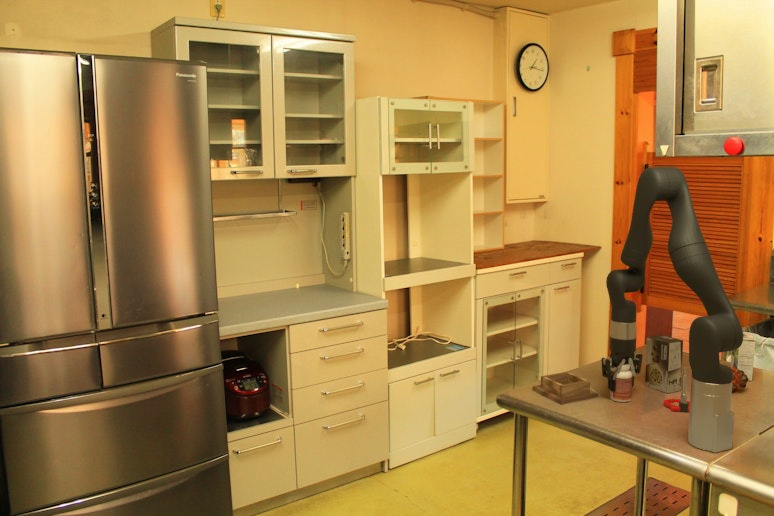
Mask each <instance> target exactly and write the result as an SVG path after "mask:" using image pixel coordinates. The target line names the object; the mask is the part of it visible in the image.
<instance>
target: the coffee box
mask: <svg viewBox="0 0 774 516" xmlns="http://www.w3.org/2000/svg"><path fill="white" fill-rule="evenodd" d="M683 350H684V340H683V339H680V338H675V337H671V336H667V335H664V334H655V335H652V336H646V347H645V351H646V352H645V377H644V378H645V379H644V380H645V381H644V385H645V386H646V387H649V388H652V389H654V390H658V391H660V392H663V393H666V394H671V393H675V392H681V391H682V376H683V374H682V373H683V354H684V352H683Z"/></svg>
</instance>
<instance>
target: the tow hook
mask: <svg viewBox="0 0 774 516" xmlns="http://www.w3.org/2000/svg"><path fill="white" fill-rule="evenodd" d="M682 373H683V374H682V377H681V393H680V398H667V399H664V400H663V406H664V407H666V408H669V409H670V412H679V411H680V413H689V412H690V400H688V394H687V387H688V386H687V385H688V384H687V383H688V375H687V367H686V366H684V367H683V371H682ZM674 402H677V404H678V405H675V404H673V403H674Z"/></svg>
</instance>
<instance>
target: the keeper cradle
mask: <svg viewBox="0 0 774 516" xmlns="http://www.w3.org/2000/svg"><path fill="white" fill-rule="evenodd" d="M532 391H534V392H535V393H537V394H540V395H541V396H543V397H545V398H548V399H549V400H551V401H553V402H554V403H557V404H559V405H561V406H562V405H566V404H571V403H577V402H582V401H586V400H591V399H596V398H597V397H598V398H599V393H598V392H596V391H594V390H591V380H588V379H586V378H584V377H582V376H579V375H577V374H574V373H572V372H569V371H564V372H556V373H552V374H547V375H541V376H540V384H538V385H534V386H532Z"/></svg>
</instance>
